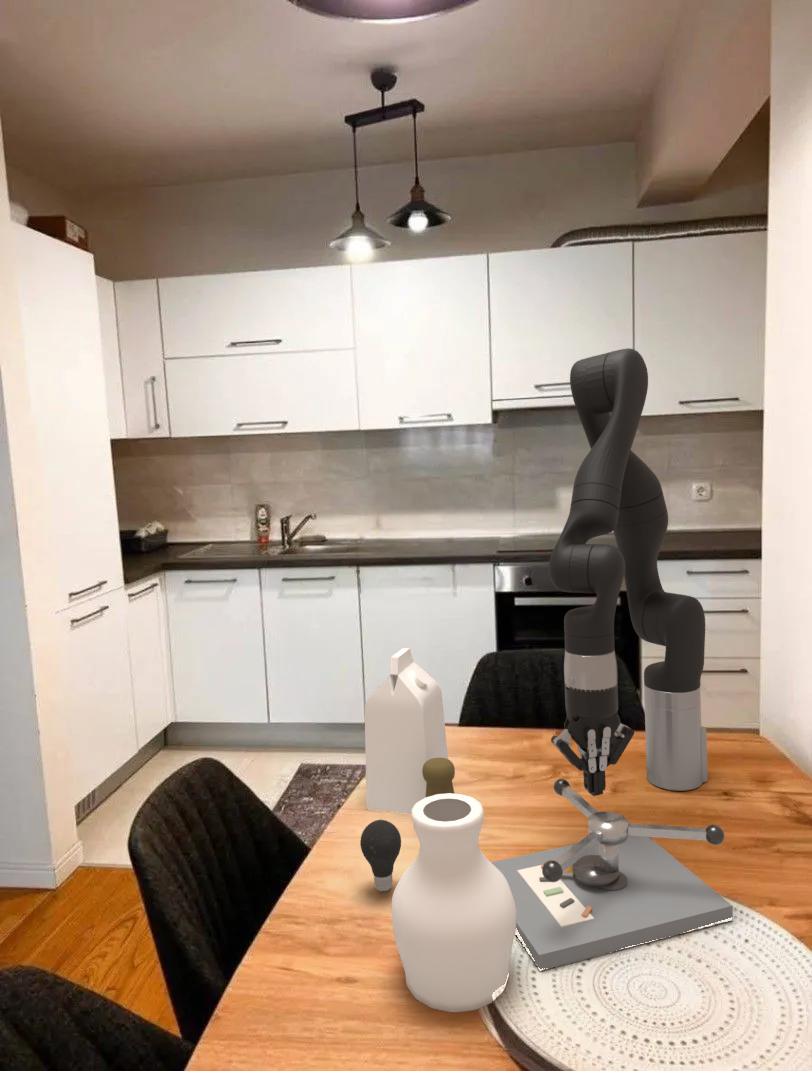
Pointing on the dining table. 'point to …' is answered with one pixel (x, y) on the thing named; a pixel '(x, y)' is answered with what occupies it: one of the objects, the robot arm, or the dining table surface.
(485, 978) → the vase
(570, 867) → the capstan
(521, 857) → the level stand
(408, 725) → the milk
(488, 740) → the dining table surface
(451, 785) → the cork
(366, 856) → the light bulb
